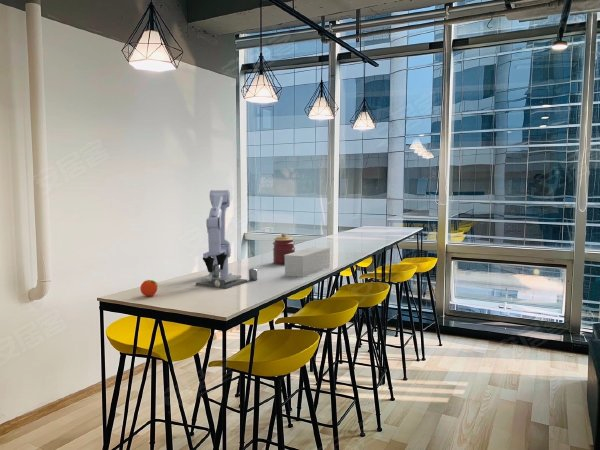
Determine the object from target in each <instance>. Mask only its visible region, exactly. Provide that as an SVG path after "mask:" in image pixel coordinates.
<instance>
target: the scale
mask: <svg viewBox="0 0 600 450" xmlns="http://www.w3.org/2000/svg"><path fill="white" fill-rule="evenodd" d="M245 283H248V279H245V278H239V279H236V280H232V281H229V282H226V283H225V280H221V279H211V281H206V280H200V281H196V282H195V286H200V287H208V288H216V289H225V290H227V289H231V288H234V287H236V286H239V285H242V284H245Z"/></svg>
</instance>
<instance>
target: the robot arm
mask: <svg viewBox="0 0 600 450" xmlns="http://www.w3.org/2000/svg"><path fill="white" fill-rule="evenodd" d="M209 201H210V204H211V208H210V209H209V215H208V217H207V218H206V231H207V237H208V239H207V240H208V241H207V243H208V251H206V252H205V253H204V252H203V254H202V255H203V257H202V260H203V262H204V264H205V266H206V269H207V272H208V273H209V274H208V276H211V275H212V272H213V264H220V274H228V275H233V273H231V272H229V258H230V257H231V254H232V249H231V242H230V241H228V240H227V239H226V211H227V209H228V207H230V204H231V203H230V202H231V194H230V190H229V189H222V190H221V189H218V190H217V189H216V190H215V189H211V190H210V191H209Z"/></svg>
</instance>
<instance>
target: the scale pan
mask: <svg viewBox="0 0 600 450" xmlns="http://www.w3.org/2000/svg"><path fill="white" fill-rule="evenodd" d="M211 279H221V280H225V283H226V282H229V281H232V280H236V279H242V275H236V274H231V275H228V274H220V277H212V275H211V276H209V275H207V276H204V277H201V281H203V280H206V281H211Z"/></svg>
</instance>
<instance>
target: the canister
mask: <svg viewBox="0 0 600 450" xmlns="http://www.w3.org/2000/svg"><path fill="white" fill-rule="evenodd" d="M273 240H274V241H273V242H272V245H273V248H272V249H273V255H272V256H273V260H272V261H273V264H275V265H285V257H284V255H286V254H290V253H293V252H296V248H295V243H296V242H295V241H294V238H293V237H292V236H288V235H287V234H286V233H285V232H282V233H281V236H280V235H279V236H276V237H275V238H274V239H273Z"/></svg>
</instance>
